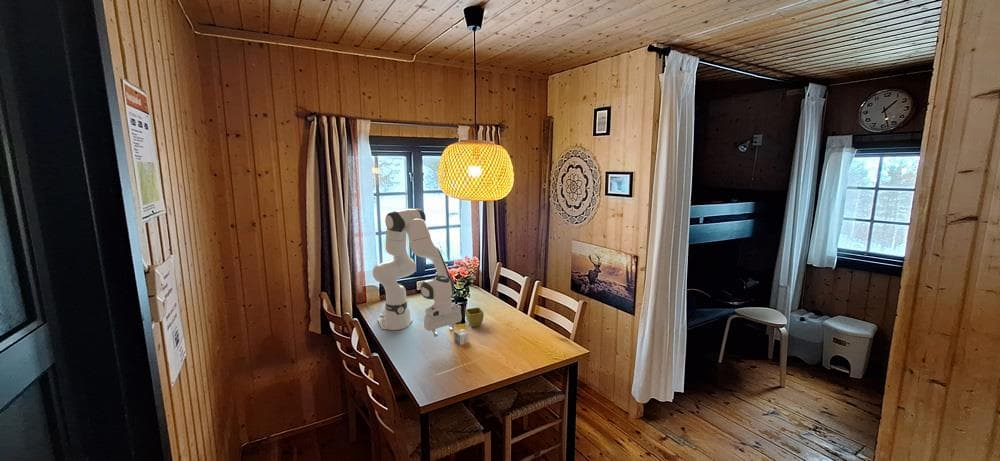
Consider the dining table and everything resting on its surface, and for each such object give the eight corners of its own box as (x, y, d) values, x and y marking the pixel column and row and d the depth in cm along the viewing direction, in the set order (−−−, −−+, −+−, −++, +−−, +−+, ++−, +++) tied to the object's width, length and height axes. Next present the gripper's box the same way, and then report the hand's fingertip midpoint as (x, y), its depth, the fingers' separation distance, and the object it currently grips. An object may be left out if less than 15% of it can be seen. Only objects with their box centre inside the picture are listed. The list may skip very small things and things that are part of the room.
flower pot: (484, 327, 227) (484, 312, 225) (469, 329, 224) (469, 314, 222) (479, 321, 235) (479, 307, 233) (465, 323, 232) (465, 309, 230)
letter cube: (454, 331, 207) (463, 329, 211) (454, 341, 208) (463, 338, 212) (459, 335, 203) (468, 332, 206) (459, 345, 204) (468, 342, 207)
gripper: (457, 301, 207) (457, 326, 209) (422, 310, 194) (422, 336, 197) (464, 305, 202) (464, 330, 204) (428, 314, 189) (428, 341, 192)
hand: (443, 333), depth 200 cm, fingers open, 8 cm apart
